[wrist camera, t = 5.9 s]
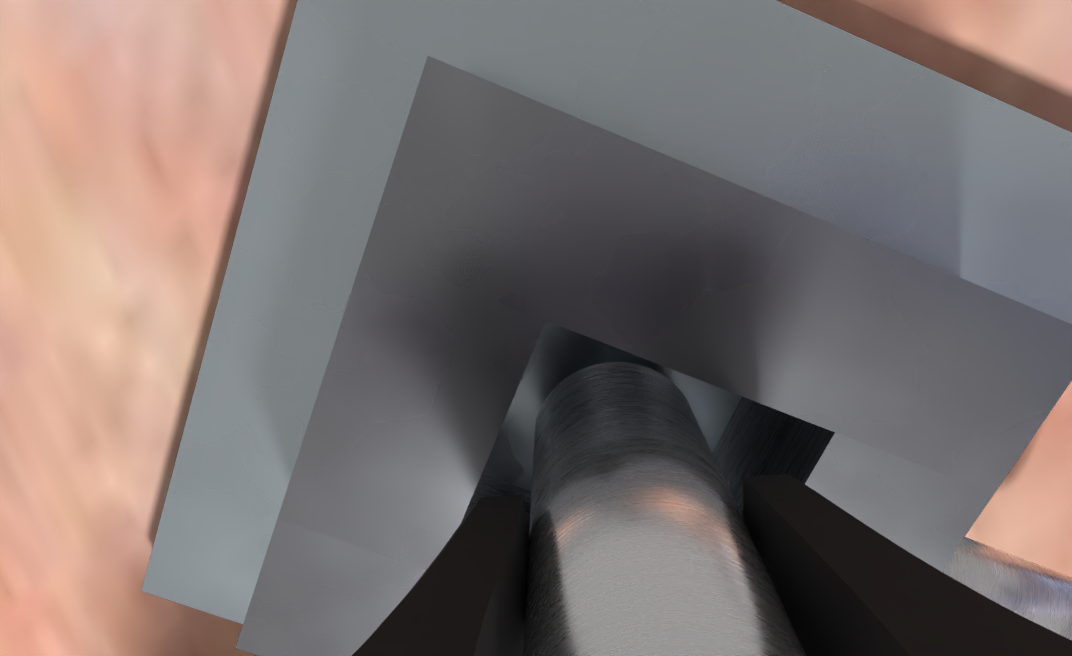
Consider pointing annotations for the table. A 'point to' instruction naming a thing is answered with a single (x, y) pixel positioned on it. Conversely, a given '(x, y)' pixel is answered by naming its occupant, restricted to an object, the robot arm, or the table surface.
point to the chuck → (610, 289)
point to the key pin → (639, 531)
